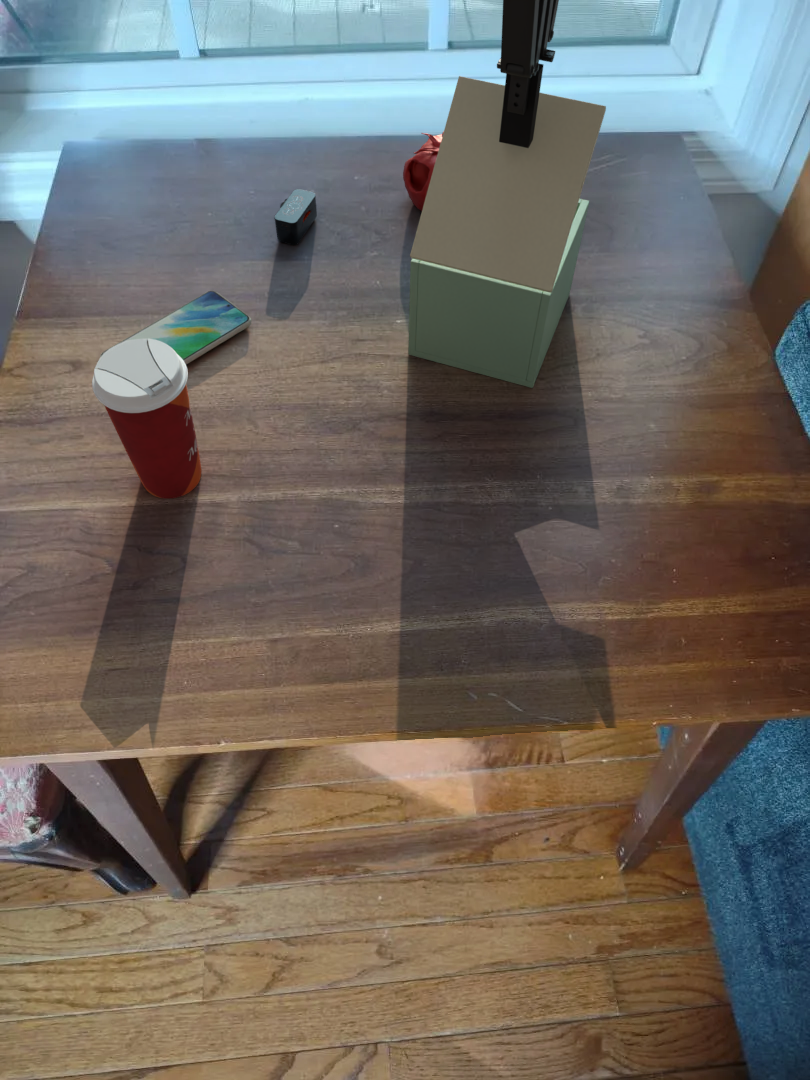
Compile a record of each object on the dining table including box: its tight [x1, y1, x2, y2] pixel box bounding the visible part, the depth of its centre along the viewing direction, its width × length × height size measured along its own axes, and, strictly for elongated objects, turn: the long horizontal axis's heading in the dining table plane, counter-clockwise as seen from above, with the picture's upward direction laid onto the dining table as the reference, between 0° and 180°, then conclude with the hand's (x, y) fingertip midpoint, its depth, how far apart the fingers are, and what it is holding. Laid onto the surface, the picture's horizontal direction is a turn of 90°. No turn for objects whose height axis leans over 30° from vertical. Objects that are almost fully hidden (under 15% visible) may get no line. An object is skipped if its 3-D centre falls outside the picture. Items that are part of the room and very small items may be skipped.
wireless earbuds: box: [274, 188, 318, 246], centre depth 101 cm, size 5×7×3 cm, turn 160°
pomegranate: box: [402, 130, 444, 212], centre depth 102 cm, size 10×10×9 cm
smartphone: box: [99, 290, 252, 365], centre depth 91 cm, size 7×1×15 cm
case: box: [407, 198, 590, 389], centre depth 89 cm, size 16×14×12 cm
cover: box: [409, 75, 607, 293], centre depth 78 cm, size 16×14×1 cm
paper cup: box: [91, 339, 202, 500], centre depth 75 cm, size 8×8×14 cm
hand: (516, 140), depth 76 cm, fingers closed
